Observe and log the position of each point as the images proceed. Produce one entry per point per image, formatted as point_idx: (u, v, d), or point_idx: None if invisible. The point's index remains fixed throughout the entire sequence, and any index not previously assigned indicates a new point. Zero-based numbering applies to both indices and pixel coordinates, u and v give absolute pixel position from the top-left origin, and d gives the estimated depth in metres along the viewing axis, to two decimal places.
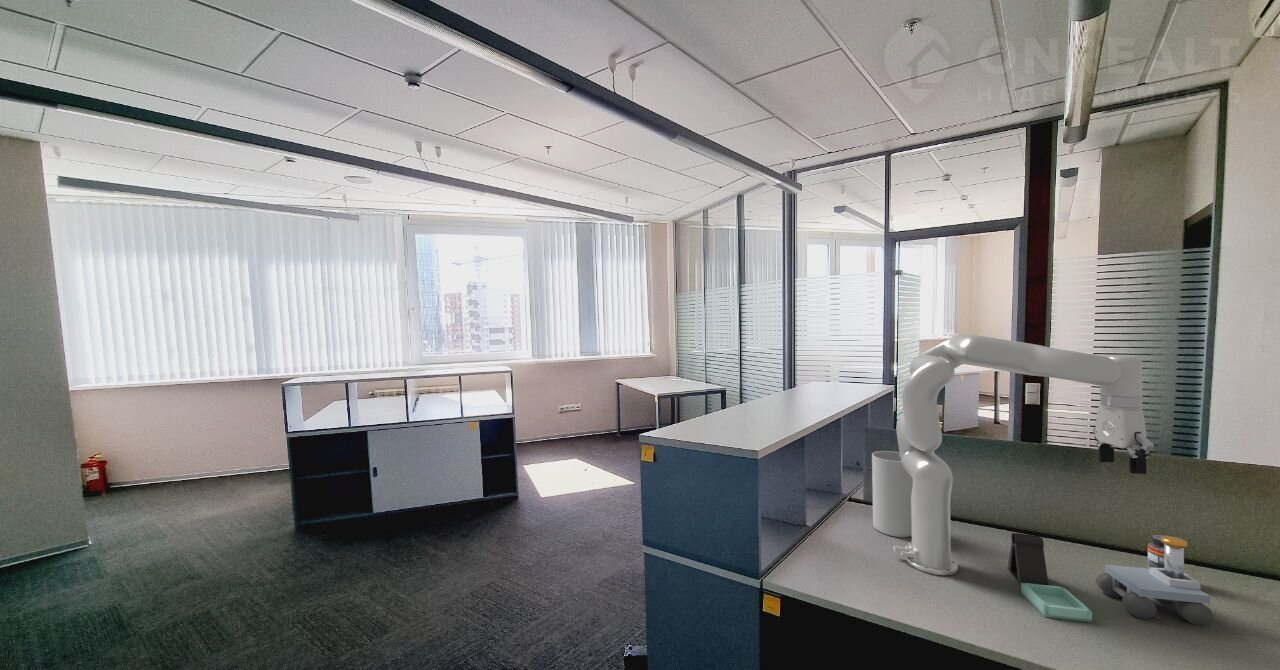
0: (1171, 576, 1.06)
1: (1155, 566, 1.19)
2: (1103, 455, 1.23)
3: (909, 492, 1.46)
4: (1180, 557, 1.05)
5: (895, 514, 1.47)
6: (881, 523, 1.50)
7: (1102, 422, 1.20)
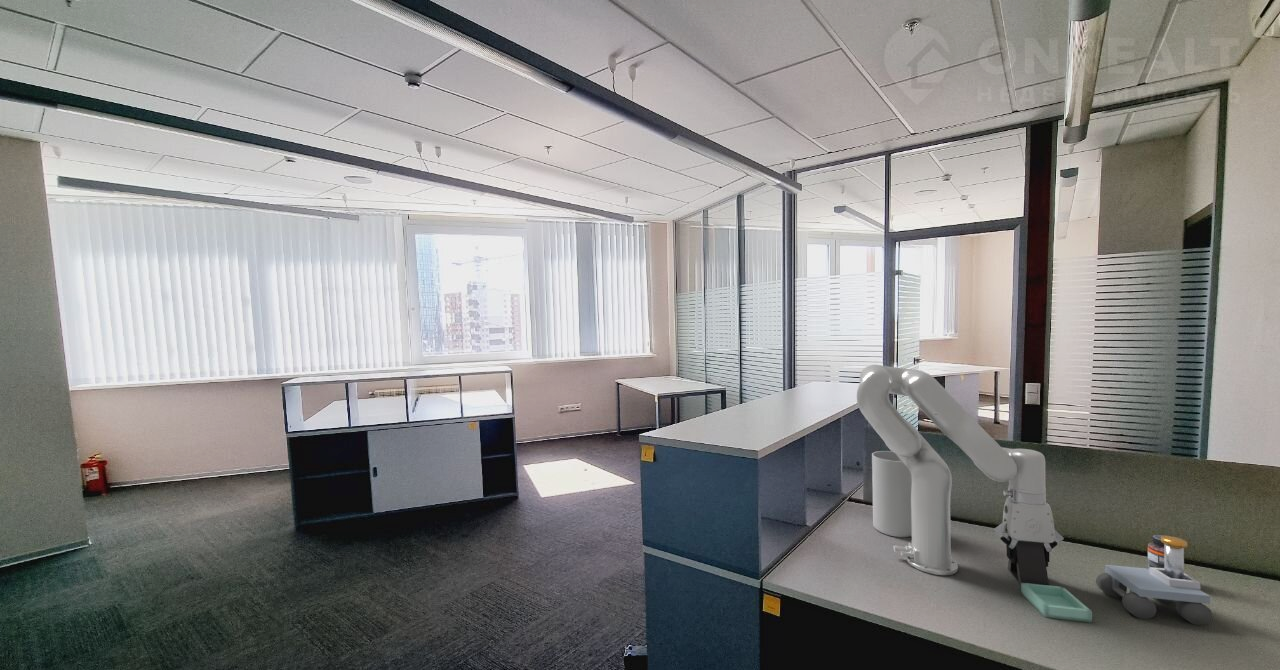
0: (1171, 576, 1.06)
1: (1155, 566, 1.19)
2: None
3: (909, 492, 1.46)
4: (1180, 557, 1.05)
5: (895, 514, 1.47)
6: (881, 523, 1.50)
7: (1024, 521, 1.19)
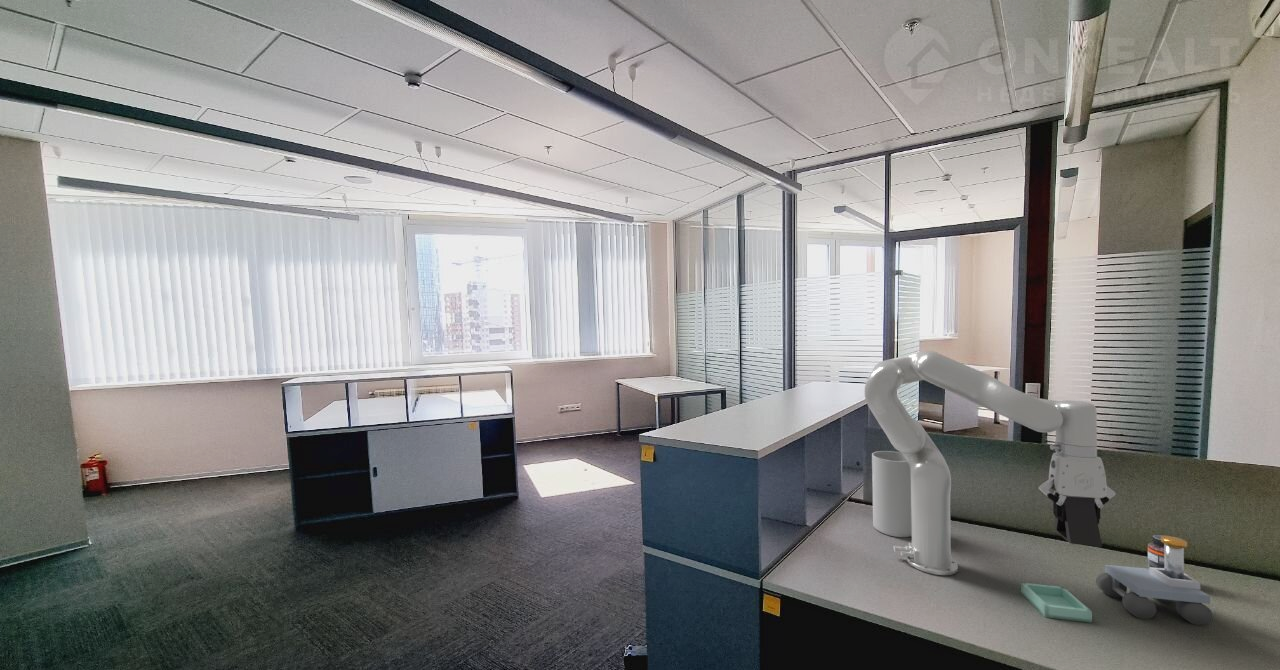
0: (1171, 576, 1.06)
1: (1155, 566, 1.19)
2: None
3: (909, 492, 1.46)
4: (1180, 557, 1.05)
5: (895, 514, 1.47)
6: (881, 523, 1.50)
7: (1074, 475, 1.12)
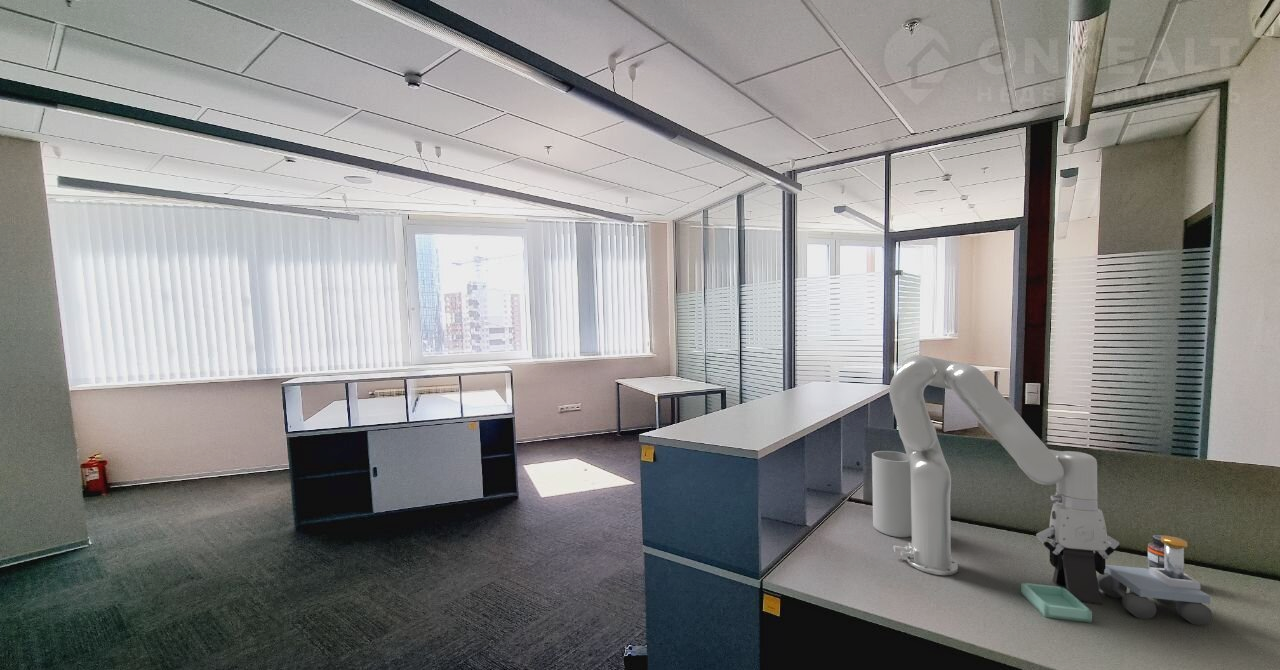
0: (1171, 576, 1.06)
1: (1155, 566, 1.19)
2: None
3: (909, 492, 1.46)
4: (1180, 557, 1.05)
5: (895, 514, 1.47)
6: (881, 523, 1.50)
7: (1074, 528, 1.12)
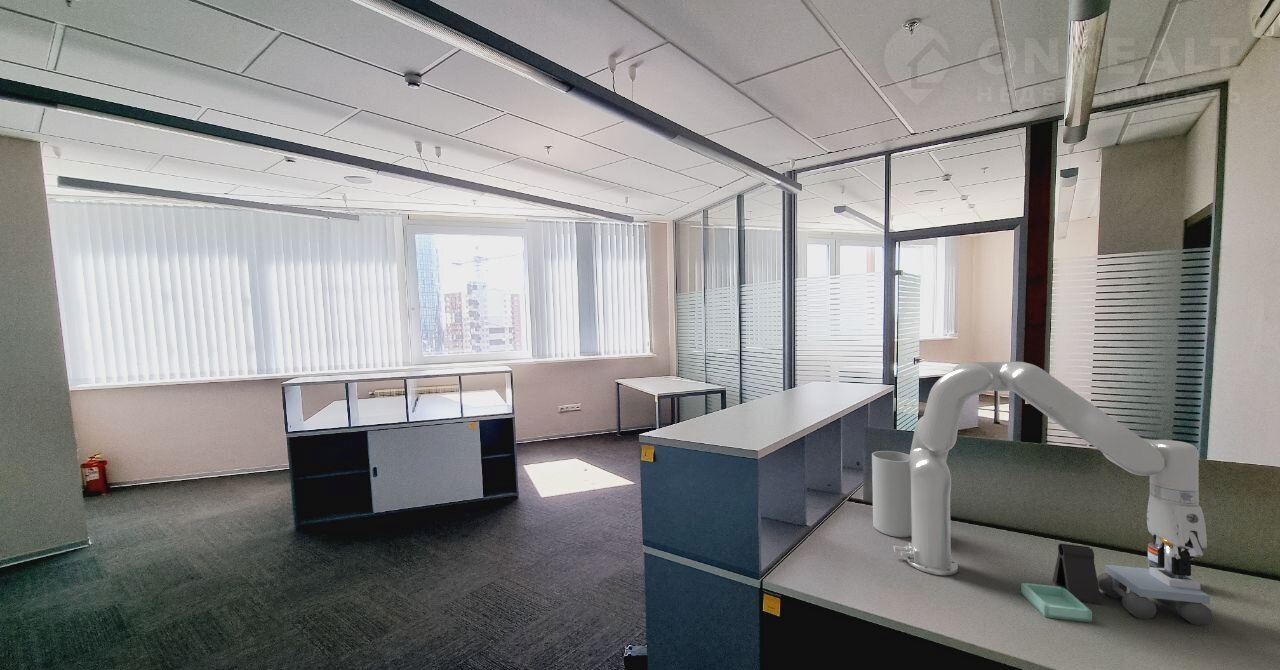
0: (1171, 576, 1.06)
1: (1155, 566, 1.19)
2: None
3: (909, 492, 1.46)
4: None
5: (895, 514, 1.47)
6: (881, 523, 1.50)
7: None
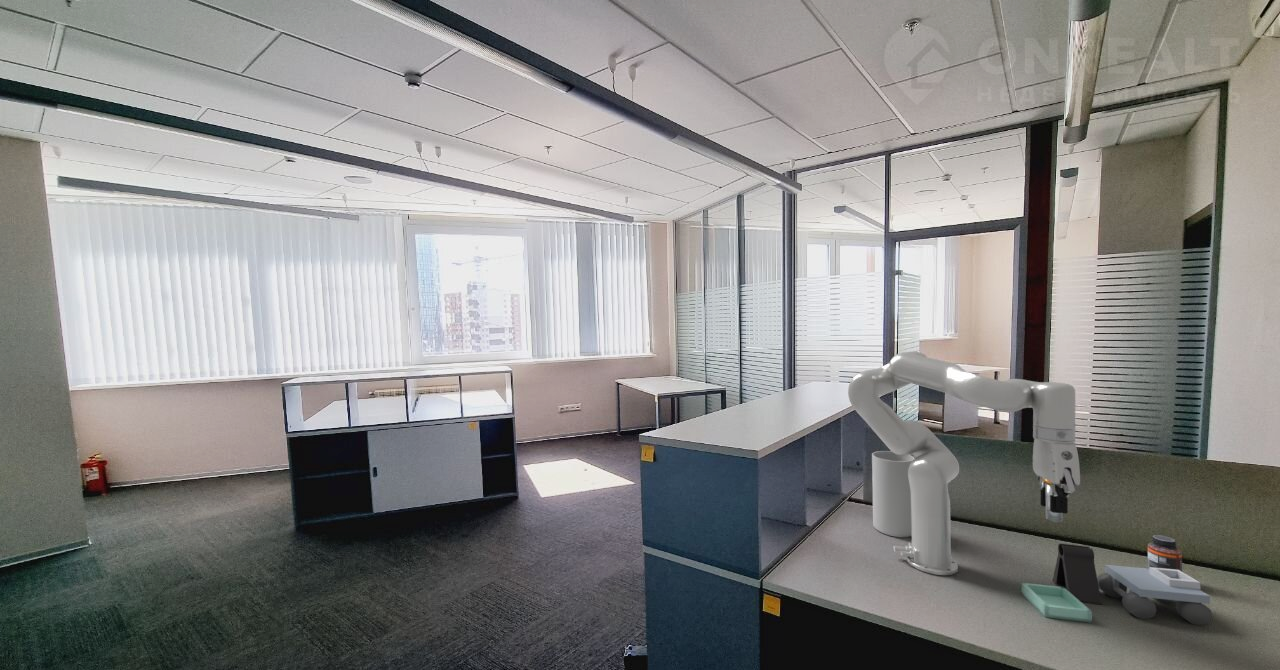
0: (1050, 514, 1.09)
1: (1155, 566, 1.19)
2: None
3: (909, 492, 1.46)
4: None
5: (895, 514, 1.47)
6: (881, 523, 1.50)
7: None
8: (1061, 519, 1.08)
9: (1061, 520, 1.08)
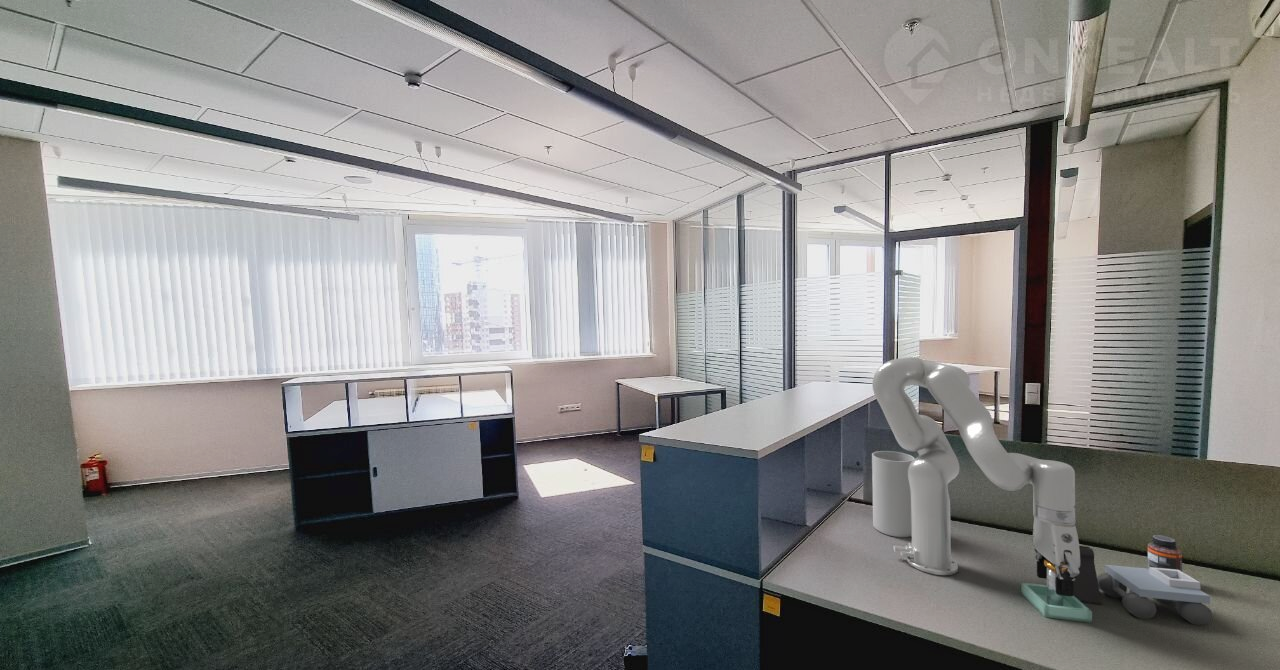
0: (1051, 599, 1.09)
1: (1155, 566, 1.19)
2: None
3: (909, 492, 1.46)
4: None
5: (895, 514, 1.47)
6: (881, 523, 1.50)
7: None
8: (1062, 605, 1.08)
9: None
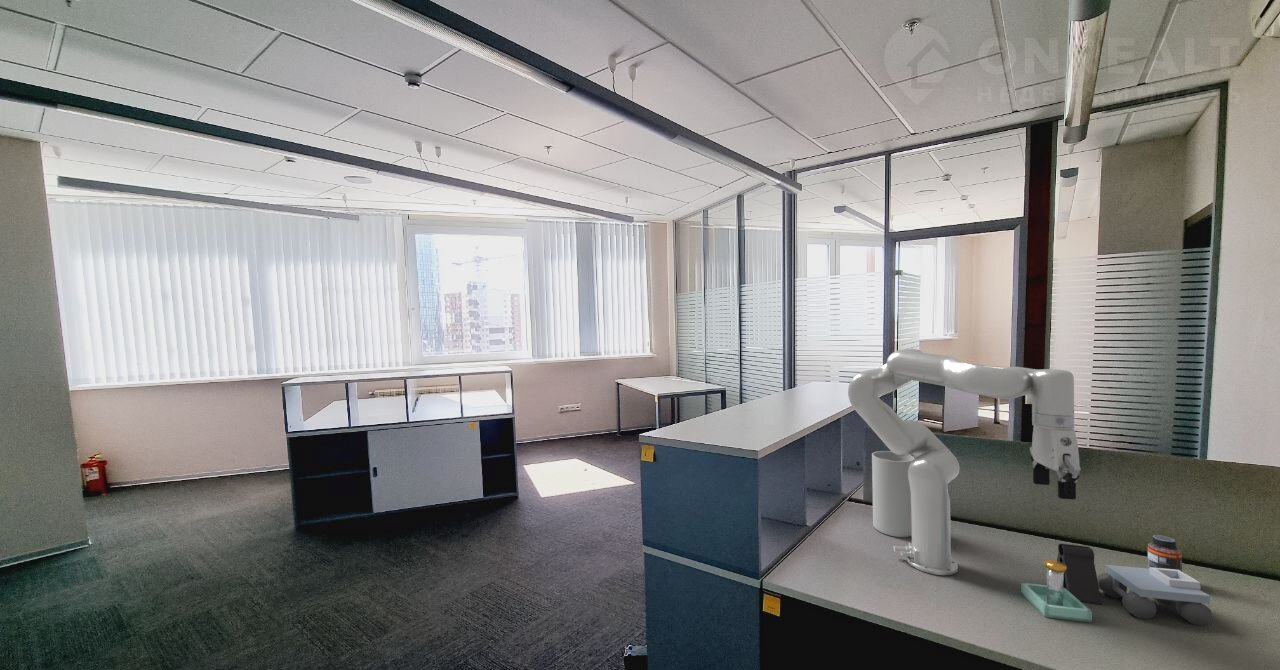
0: (1051, 599, 1.09)
1: (1155, 566, 1.19)
2: None
3: (909, 492, 1.46)
4: (1060, 581, 1.08)
5: (895, 514, 1.47)
6: (881, 523, 1.50)
7: None
8: (1062, 605, 1.08)
9: None
